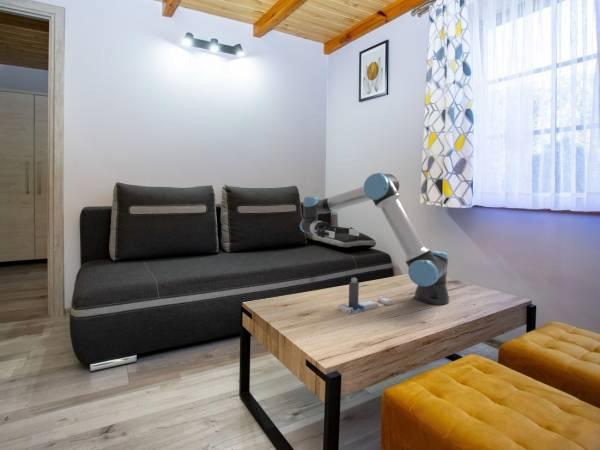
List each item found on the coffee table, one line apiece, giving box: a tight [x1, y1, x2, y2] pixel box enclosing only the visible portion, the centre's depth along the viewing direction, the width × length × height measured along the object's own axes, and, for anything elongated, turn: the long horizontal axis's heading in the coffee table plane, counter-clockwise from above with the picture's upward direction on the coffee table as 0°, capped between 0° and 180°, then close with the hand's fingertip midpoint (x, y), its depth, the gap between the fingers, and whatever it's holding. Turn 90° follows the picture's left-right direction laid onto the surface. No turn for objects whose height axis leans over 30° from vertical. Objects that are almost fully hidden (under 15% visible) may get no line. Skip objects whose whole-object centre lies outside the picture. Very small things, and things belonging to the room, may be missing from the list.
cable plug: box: [348, 277, 360, 310], centre depth 148 cm, size 4×4×13 cm
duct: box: [338, 295, 393, 314], centre depth 152 cm, size 25×7×2 cm, turn 119°
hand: (346, 234), depth 156 cm, fingers open, 13 cm apart
